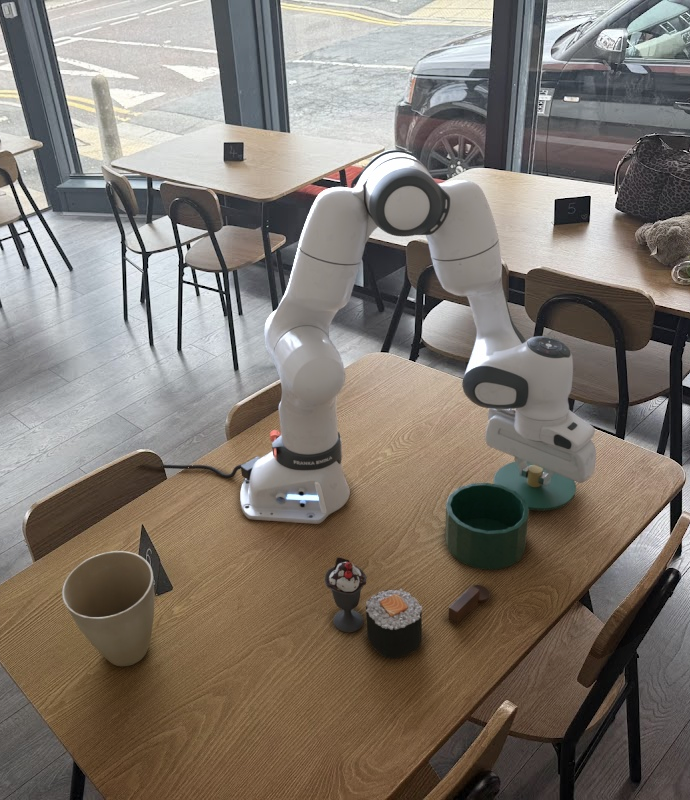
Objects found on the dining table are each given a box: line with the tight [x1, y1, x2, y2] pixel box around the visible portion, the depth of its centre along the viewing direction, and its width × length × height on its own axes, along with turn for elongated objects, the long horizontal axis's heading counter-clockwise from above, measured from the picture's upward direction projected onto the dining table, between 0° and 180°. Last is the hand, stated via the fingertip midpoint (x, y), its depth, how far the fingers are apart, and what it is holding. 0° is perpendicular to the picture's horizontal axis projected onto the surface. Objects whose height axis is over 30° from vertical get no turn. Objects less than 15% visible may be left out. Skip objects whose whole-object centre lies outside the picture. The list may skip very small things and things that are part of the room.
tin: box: [444, 482, 530, 570], centre depth 141 cm, size 14×14×8 cm
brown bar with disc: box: [448, 584, 491, 625], centre depth 131 cm, size 9×3×3 cm, turn 131°
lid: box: [493, 461, 577, 512], centre depth 151 cm, size 15×15×5 cm
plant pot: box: [61, 550, 155, 667], centre depth 131 cm, size 15×15×16 cm
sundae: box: [324, 556, 367, 633], centre depth 129 cm, size 7×7×15 cm
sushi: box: [365, 588, 423, 660], centre depth 126 cm, size 8×8×8 cm
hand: (534, 479), depth 151 cm, fingers closed on lid, 2 cm apart
